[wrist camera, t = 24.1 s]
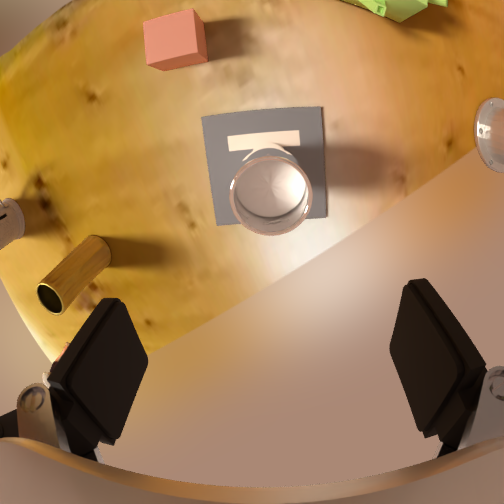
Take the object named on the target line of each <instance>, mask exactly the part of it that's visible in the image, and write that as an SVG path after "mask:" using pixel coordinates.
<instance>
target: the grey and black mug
mask: <svg viewBox="0 0 504 504" xmlns="http://www.w3.org/2000/svg"><path fill="white" fill-rule="evenodd" d="M24 232H25V220H24V216H23V213H22V210H21V208H20V207H19V205H18V204H17V202H15V201H14V200H13V199H11V198H6V199H5V200H3V202H2V201H1V200H0V250H1V249H2V248H4V247H5V246H6V245H8V244H9V243H11V242H12V241H13V240H15V239H20V238H21V237H22V236H23V235H24Z"/></svg>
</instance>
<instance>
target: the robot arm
mask: <svg viewBox="0 0 504 504" xmlns="http://www.w3.org/2000/svg"><path fill="white" fill-rule="evenodd" d="M474 133H475V141H476V146H477V149H478V152H479V155H480V157H481V159H482V160H483V162H484V163H485V164H486V165H487V166H488V167H489V168H490V169H492V170H494V171H496V172H501V173H502V172H504V100H502V99H500V98H489V99H486V100H485V101H484V102H483V103H482V104H481V105H480V107H479V109H478V111H477V114H476V117H475V124H474ZM390 354H391V357H392V359H393V362H394V364H395V367H396V370H397V372H398V375H399V378H400V380H401V383H402V385H403V388H404V391H405V393H406V396H407V399H408V402H409V405H410V407H411V411H412V414H413V416H414V419H415V423H416V426H417V428H418V430H419V431H420V432H421V431H423V434H424V437H425V438H428V437H431V436H434V435H437V434H438V436H439V440H440V443H439V445H438V447H437V450H436V452H435V454H434V456H433V458H432V460H429V461H426V462H423V463H420V464H417V465H413V466H410V467H406V468H402V469H398V470H395V471H391V472H387V473H383V474H378V475H374V476H369V477H365V478H359V479H353V480H348V481H341V482H335V483H326V484H318V485H306V486H292V487H262V488H261V487H257V488H256V487H229V486H215V485H204V484H196V483H188V482H181V481H174V480H168V479H163V478H157V477H153V476H148V475H143V474H139V473H135V472H131V471H126V470H123V469H119V468H115V467H112V466H109V465H105V464H104V461H103V459H102V456H101V454H100V451H99V448H98V446H97V445H98V442H99V441H100V442H102V443H106V444H109V445H114V443H115V441H116V439H118V438H119V437H120V436H121V433H122V430H123V427H124V425H125V422H126V420H127V417H128V414H129V412H130V409H131V406H132V404H133V401H134V398H135V396H136V393H137V390H138V388H139V386H140V383H141V381H142V378H143V375H144V373H145V371H146V368H147V365H148V357H147V354H146V352H145V350H144V348H143V346H142V344H141V341H140V339H139V337H138V334H137V332H136V330H135V328H134V325H133V323H132V320H131V318H130V316H129V313H128V311H127V308H126V306H125V304H124V303H123V302H121V300H120V299H118V298H103V299H102V300H101V301H100V302H99V304H98V305H97V306H96V308H95V309H94V310H93V312H92V313H91V315H90V316H89V317H88V319H87V320H86V321H85V323H84V324H83V326H82V327H81V329H80V330H79V331H78V333H77V334H76V336H75V337H74V339H73V340H72V341H71V343H70V344H69V346H68V347H67V349H66V350H65V352H64V353H63V355H62V356H61V358H60V359H59V361H58V362H57V364H56V366H55V367H54V369H53V370H52V372H51V373H50V375H49V377H48V378H47V381H48V382H49V384H50V385H51V386H50V387H49V389H48V388H47V387H46V385H44V384H42V383H34V384H31V385H29V386H27V387H26V388H25V389H24V390H23V391H22V392H21V394H20V395H19V397H18V399H17V409H15V410H13V411H11V412H9V413H7V414H4V415H3V416H0V504H504V367H503V366H496V367H493V368H491V369H489V371H487V369H486V368H485V365H486V363H485V361H484V360H483V358H482V357H481V355H480V353H479V352H478V350H477V348H476V347H475V345H474V344H473V342H472V341H471V339H470V338H469V336H468V335H467V333H466V332H465V330H464V329H463V328H462V326H461V324H460V323H459V322H458V320H457V319H456V317H455V316H454V315H453V313H452V312H451V310H450V309H449V308H448V306H447V305H446V304H445V302H444V301H443V300H442V298H441V297H440V296H439V294H438V293H437V292H436V290H435V289H434V288H433V286H432V285H431V284H430V283H429V282H428V280H427V279H425V278H423V279H415V280H410V281H409V282H408V284H407V285H405V286H404V287H403V291H402V297H401V301H400V306H399V311H398V315H397V319H396V323H395V327H394V331H393V335H392V339H391V342H390Z"/></svg>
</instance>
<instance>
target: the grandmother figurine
mask: <svg viewBox="0 0 504 504" xmlns="http://www.w3.org/2000/svg"><path fill="white" fill-rule="evenodd" d="M68 346H69V343H68V342H66V346H65V347H64V350H63V351H62V353H61V355H60V356H59V357H58V358H57V359H56V360H55V361H54V362H53V364H52V367H51V369H50V372H49V373H46V372H44V373H43V382H44V384H45V385H46V386H47V387H50V386H51V385H50V384H49V382H48V381H47V378H48V377H49V375H50V373H51V372H52V370H53V369H54V367H55V366H56V364H57V362H58V361H59V359H60V358H61V356H62V355H63V353H64V352H65V350H66V349H67V347H68Z"/></svg>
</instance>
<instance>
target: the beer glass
mask: <svg viewBox="0 0 504 504" xmlns="http://www.w3.org/2000/svg"><path fill="white" fill-rule="evenodd" d="M229 197H230V204H231V208H232V211H233V213H234V215H235V216H236V218H237V219H238V220H239V222H240V223H241V224H242V225H243V226H245V227H246V228H247V229H249V230H251V231H253V232H255V233H258V234H261V235H268V236H274V235H281V234H284V233H287V232H289V231H291V230H293V229H295V228H296V227H298V226H299V225H300V224H301V223H302V222H303V221H304V219H305V218H306V217H307V215H308V213H309V211H310V208H311V205H312V198H313V194H312V187H311V184H310V181H309V178H308V175H307V173H306V171H305V169H304V167H303V165H302V164H301V162H300V161H299V160H298V159H297V158H296V157H295V156H294V155H292V154H291V153H289V152H288V151H287V150H286V149H285V148H283V147H282V146H280V145H278V144H274V143H265V144H261V145H259V146H257V147H255V148H254V149H253V150H252V151H251V152H250V153H249V154H248V155H247V156H246V157H245V158H244V159H243V160H242V161H241V162H240V163H239V165H238V166H237V168H236V170H235V173H234V175H233V178H232V183H231V187H230V194H229Z"/></svg>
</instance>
